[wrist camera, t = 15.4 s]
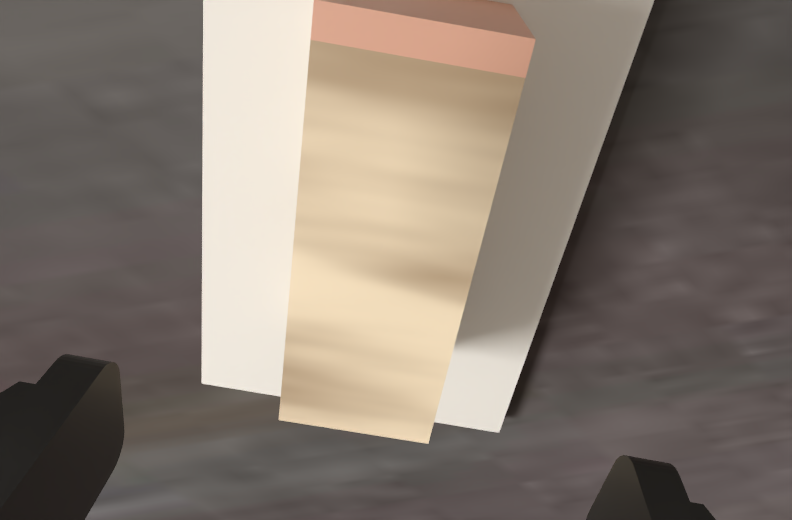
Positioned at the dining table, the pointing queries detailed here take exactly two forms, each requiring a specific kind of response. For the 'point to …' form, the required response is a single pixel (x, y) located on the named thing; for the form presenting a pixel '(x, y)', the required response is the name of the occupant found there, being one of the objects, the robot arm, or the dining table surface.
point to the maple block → (394, 203)
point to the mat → (508, 219)
